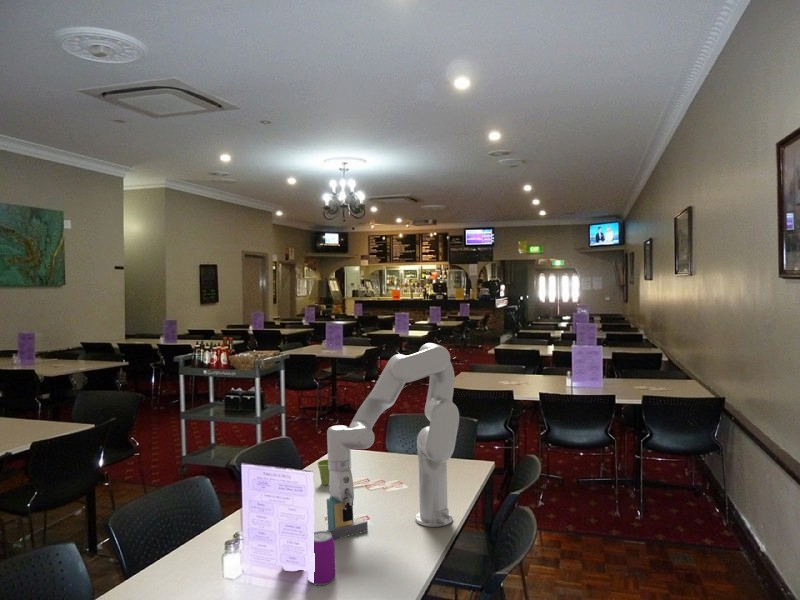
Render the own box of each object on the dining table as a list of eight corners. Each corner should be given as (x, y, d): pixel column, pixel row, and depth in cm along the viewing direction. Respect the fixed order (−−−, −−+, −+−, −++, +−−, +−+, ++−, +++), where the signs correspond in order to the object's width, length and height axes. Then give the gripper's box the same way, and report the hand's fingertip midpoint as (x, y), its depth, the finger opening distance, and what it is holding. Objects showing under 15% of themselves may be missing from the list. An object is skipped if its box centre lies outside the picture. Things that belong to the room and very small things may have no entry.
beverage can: (301, 581, 156) (300, 537, 155) (320, 570, 162) (319, 527, 162) (322, 589, 151) (321, 544, 151) (341, 577, 158) (340, 533, 157)
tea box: (328, 529, 190) (326, 498, 190) (347, 524, 193) (345, 494, 193) (334, 533, 185) (332, 502, 186) (354, 529, 189) (352, 498, 189)
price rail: (367, 530, 188) (367, 521, 188) (327, 541, 181) (327, 531, 181) (362, 527, 191) (362, 518, 191) (323, 537, 184) (323, 527, 184)
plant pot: (312, 483, 236) (312, 462, 236) (331, 478, 242) (331, 457, 242) (325, 488, 229) (325, 467, 229) (345, 483, 235) (344, 462, 235)
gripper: (361, 468, 183) (363, 522, 183) (339, 456, 198) (341, 505, 198) (340, 473, 179) (342, 527, 180) (318, 459, 194) (320, 510, 195)
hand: (341, 515), depth 189 cm, fingers open, 9 cm apart
